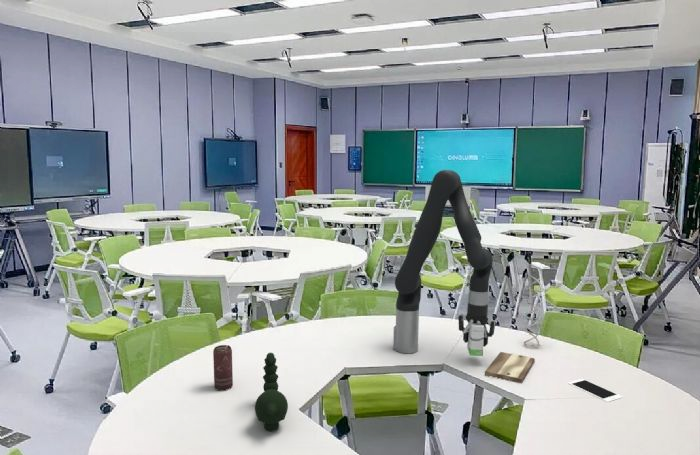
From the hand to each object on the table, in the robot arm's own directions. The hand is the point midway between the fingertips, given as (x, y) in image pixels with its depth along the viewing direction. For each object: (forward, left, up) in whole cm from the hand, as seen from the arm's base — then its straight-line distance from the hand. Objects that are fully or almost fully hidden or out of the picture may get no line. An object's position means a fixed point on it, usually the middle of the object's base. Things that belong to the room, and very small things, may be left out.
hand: (475, 343), depth 203 cm
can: (-67, -66, -7) cm, 94 cm away
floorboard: (+13, +1, -7) cm, 15 cm away
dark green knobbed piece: (-39, -75, -7) cm, 85 cm away
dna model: (+15, +28, -7) cm, 33 cm away
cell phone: (+42, -3, -8) cm, 43 cm away
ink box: (0, 0, -3) cm, 3 cm away
